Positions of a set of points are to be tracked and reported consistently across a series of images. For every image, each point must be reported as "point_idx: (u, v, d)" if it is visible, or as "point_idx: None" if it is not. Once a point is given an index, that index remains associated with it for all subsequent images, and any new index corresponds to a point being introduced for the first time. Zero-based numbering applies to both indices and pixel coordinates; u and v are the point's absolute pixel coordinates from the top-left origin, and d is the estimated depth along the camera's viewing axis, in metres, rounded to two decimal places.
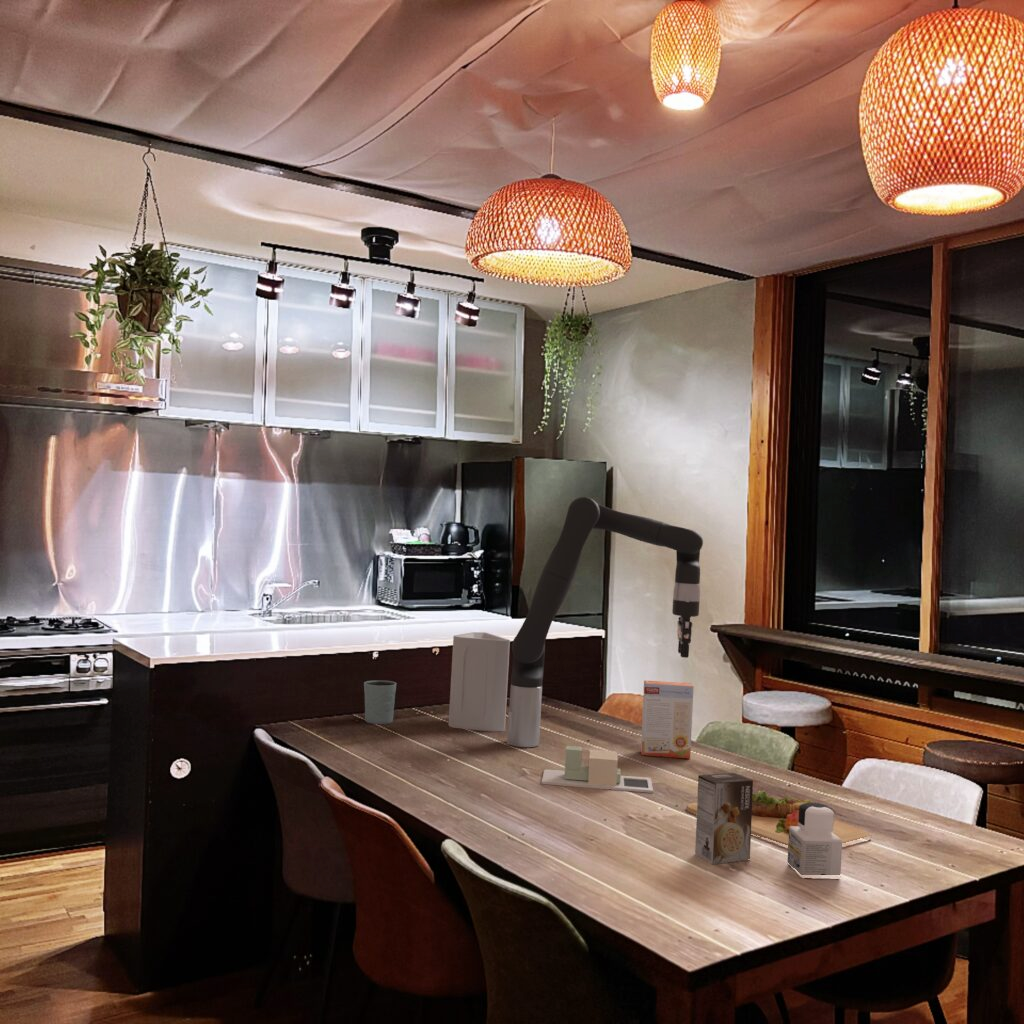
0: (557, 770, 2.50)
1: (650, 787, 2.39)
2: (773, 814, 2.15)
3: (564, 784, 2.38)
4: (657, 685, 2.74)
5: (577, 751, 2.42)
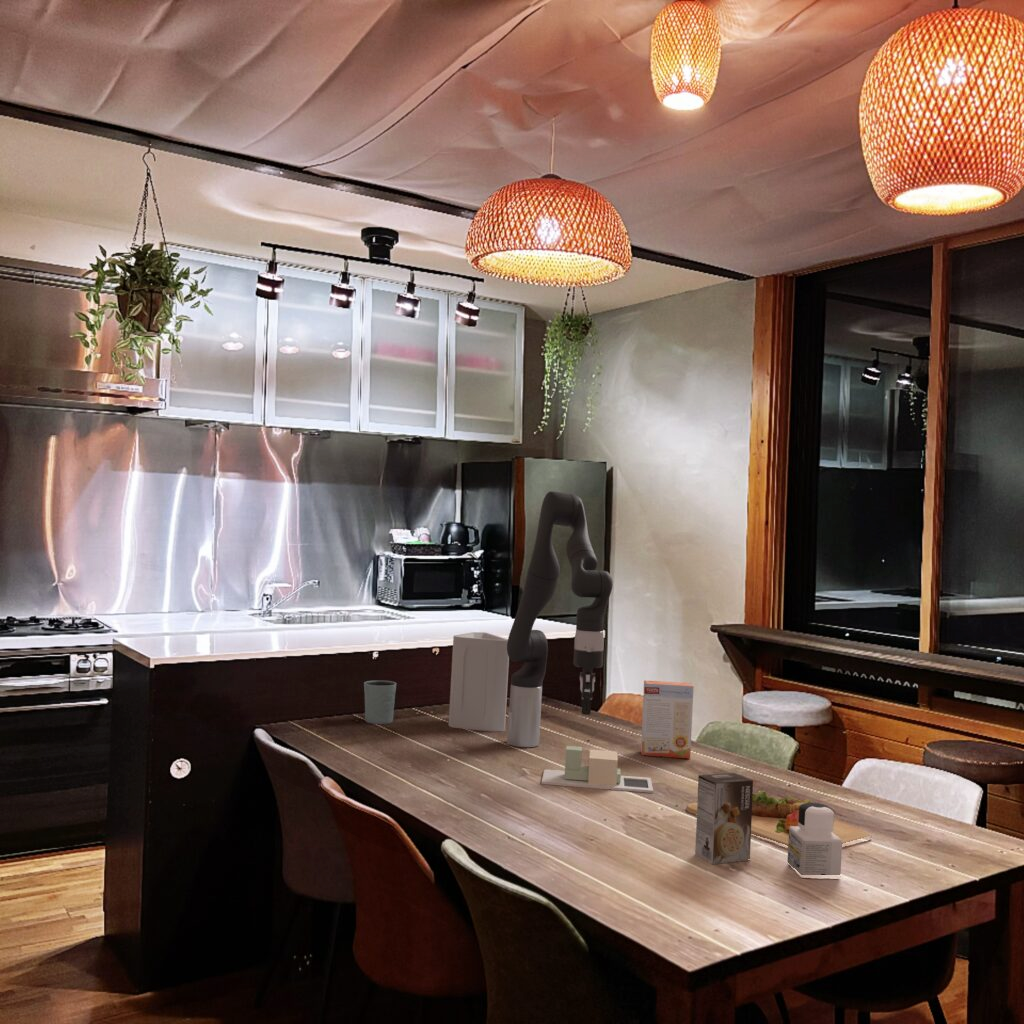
0: (557, 770, 2.50)
1: (650, 787, 2.39)
2: (773, 814, 2.15)
3: (564, 784, 2.38)
4: (657, 685, 2.74)
5: (577, 751, 2.42)
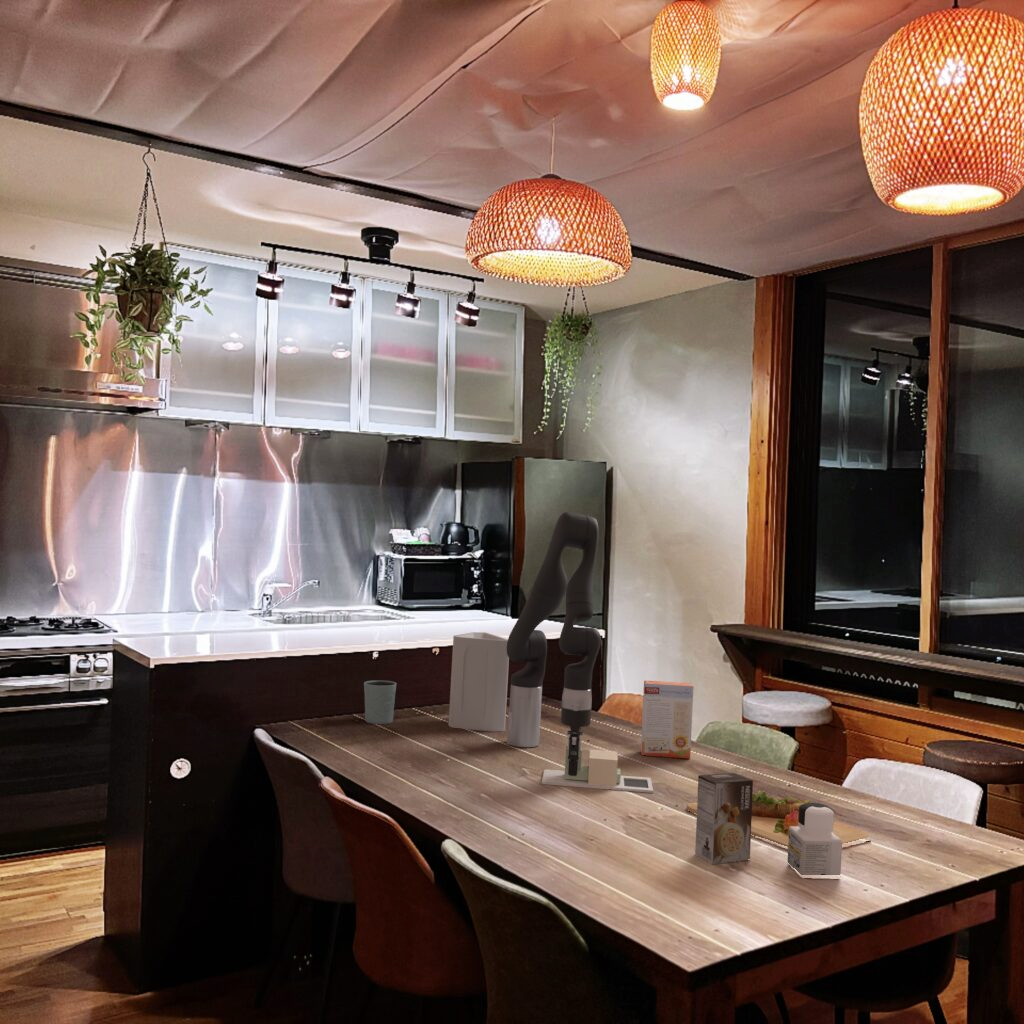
0: (557, 770, 2.50)
1: (650, 787, 2.39)
2: (773, 815, 2.15)
3: (564, 784, 2.38)
4: (657, 685, 2.74)
5: None
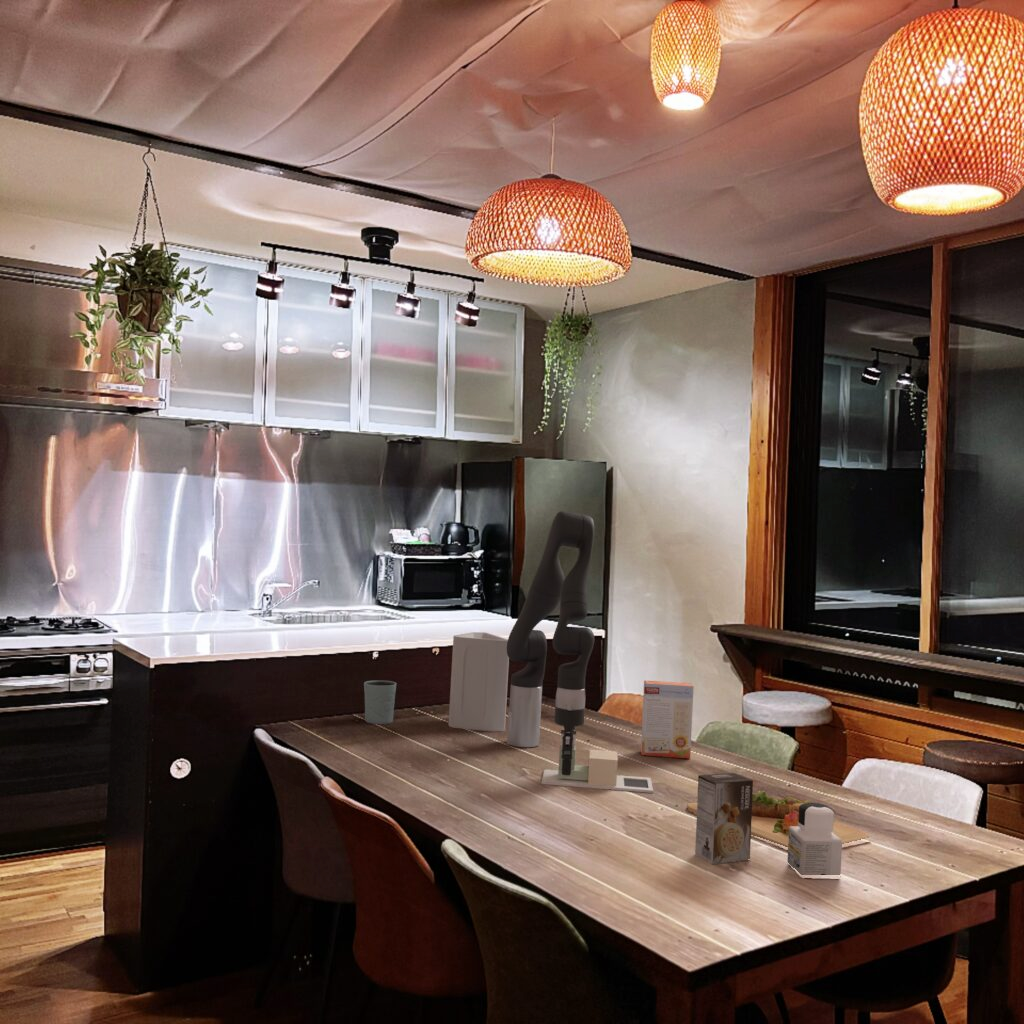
0: (557, 770, 2.50)
1: (650, 787, 2.39)
2: (772, 815, 2.15)
3: (564, 784, 2.38)
4: (657, 685, 2.74)
5: None
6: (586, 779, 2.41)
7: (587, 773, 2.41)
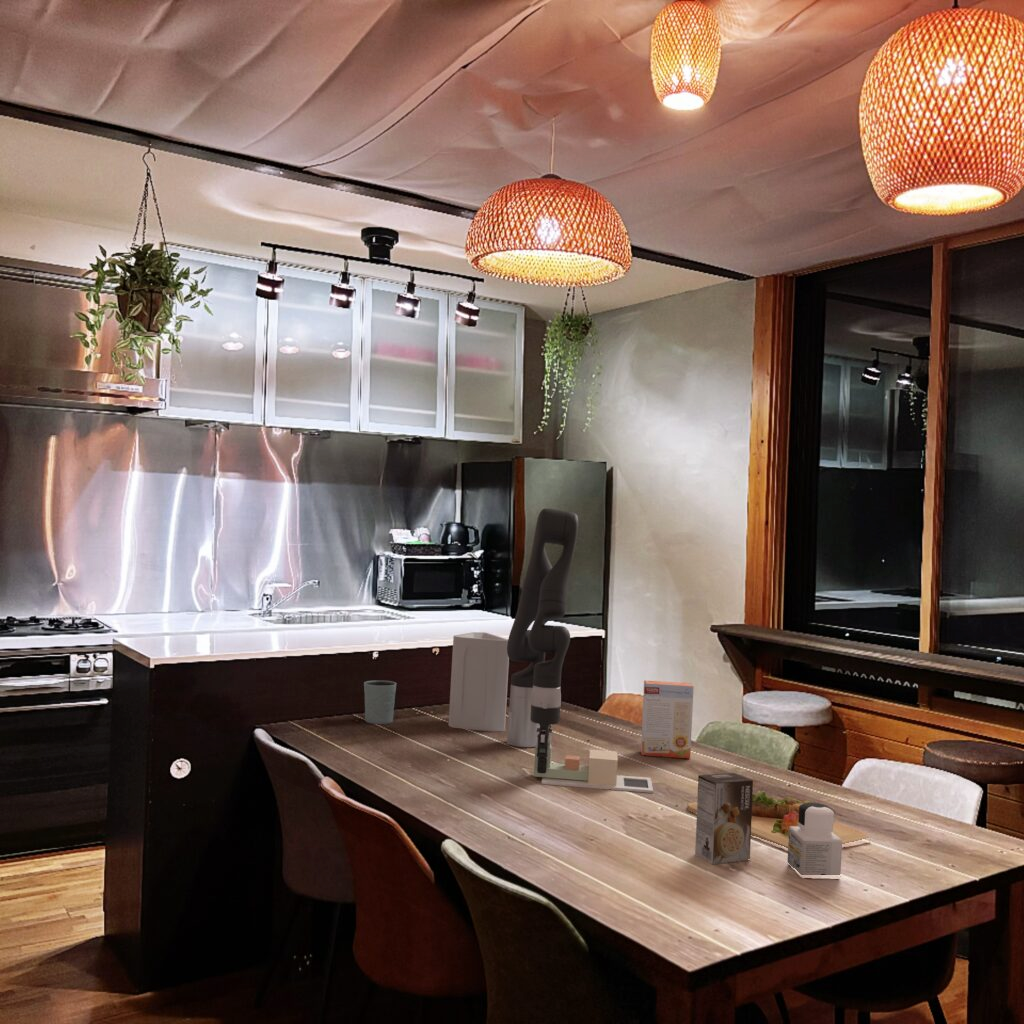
0: None
1: (650, 787, 2.39)
2: (772, 815, 2.15)
3: (564, 784, 2.38)
4: (657, 685, 2.74)
5: None
6: (561, 777, 2.41)
7: (562, 771, 2.41)
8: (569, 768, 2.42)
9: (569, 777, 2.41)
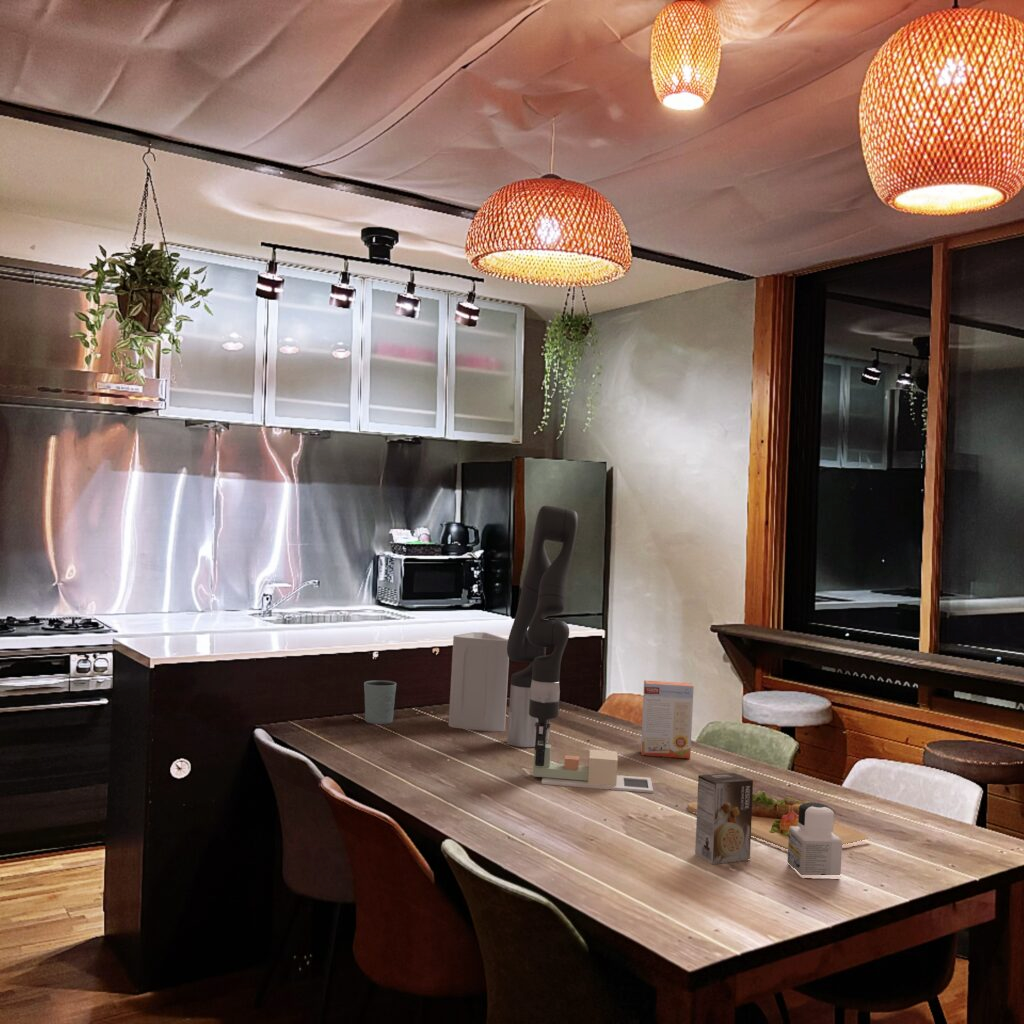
0: None
1: (650, 787, 2.39)
2: (772, 815, 2.15)
3: (564, 784, 2.38)
4: (657, 685, 2.74)
5: (546, 749, 2.43)
6: (561, 777, 2.41)
7: (562, 771, 2.41)
8: (568, 768, 2.42)
9: (568, 777, 2.41)
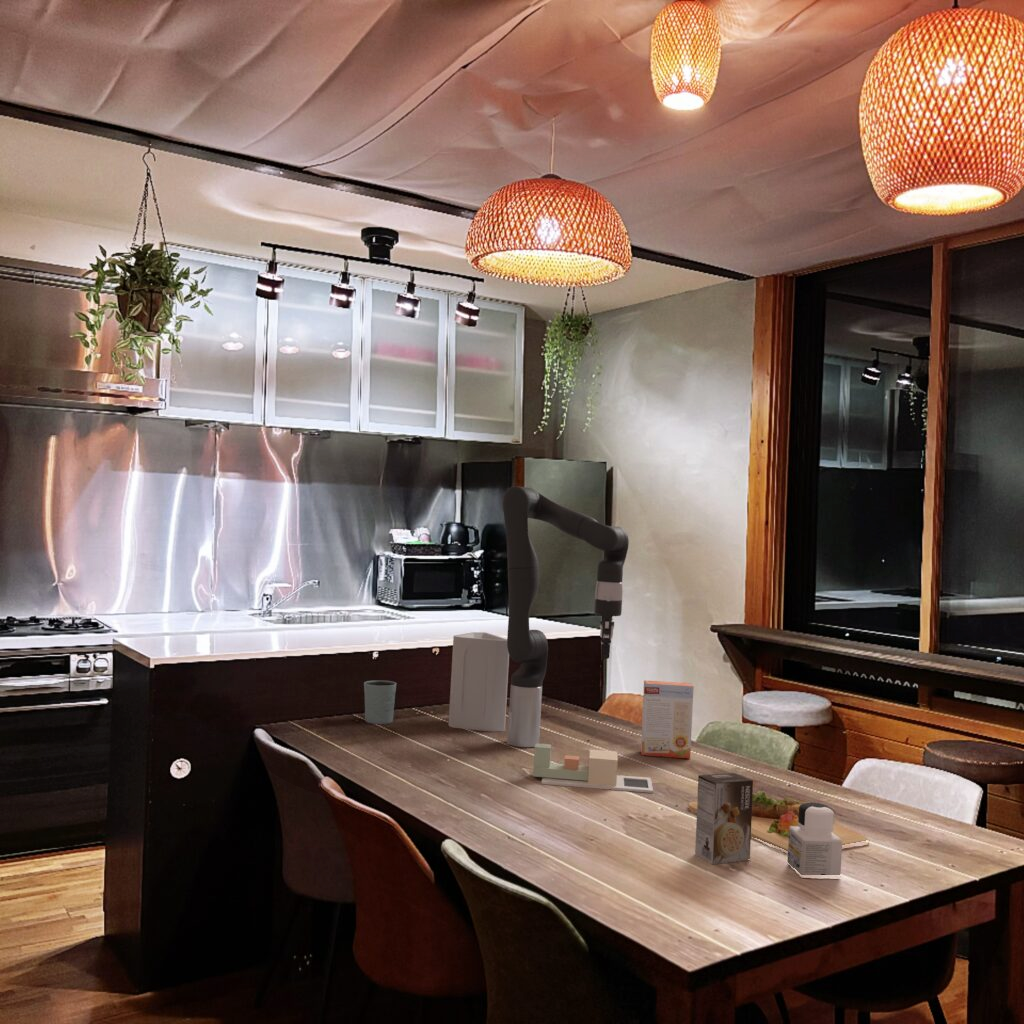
0: None
1: (650, 787, 2.39)
2: (771, 815, 2.15)
3: (564, 784, 2.38)
4: (657, 685, 2.74)
5: (546, 749, 2.43)
6: (561, 777, 2.41)
7: (562, 771, 2.41)
8: (568, 768, 2.42)
9: (568, 777, 2.41)
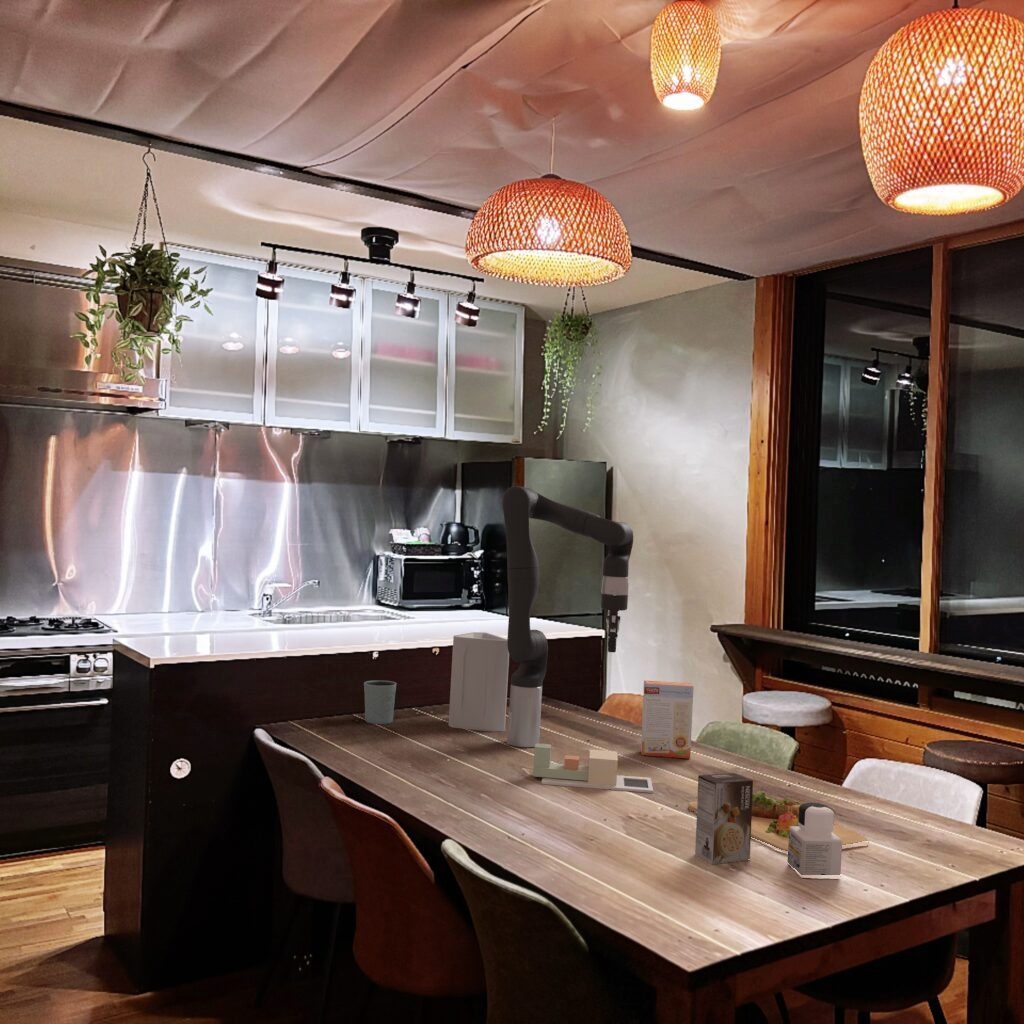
0: None
1: (650, 787, 2.39)
2: (771, 815, 2.14)
3: (564, 784, 2.38)
4: (657, 685, 2.74)
5: (546, 749, 2.43)
6: (561, 777, 2.41)
7: (562, 771, 2.41)
8: (568, 768, 2.42)
9: (568, 777, 2.41)
